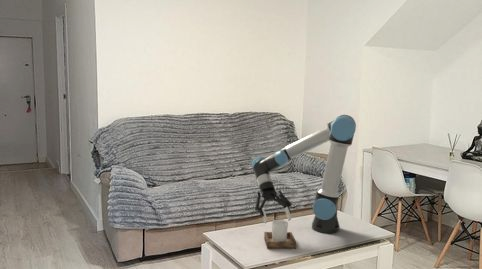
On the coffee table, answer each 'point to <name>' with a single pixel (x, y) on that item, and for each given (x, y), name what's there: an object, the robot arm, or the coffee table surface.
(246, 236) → the coffee table surface
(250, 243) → the coffee table surface
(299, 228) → the coffee table surface
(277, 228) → the white cup
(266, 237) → the tray
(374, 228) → the coffee table surface
